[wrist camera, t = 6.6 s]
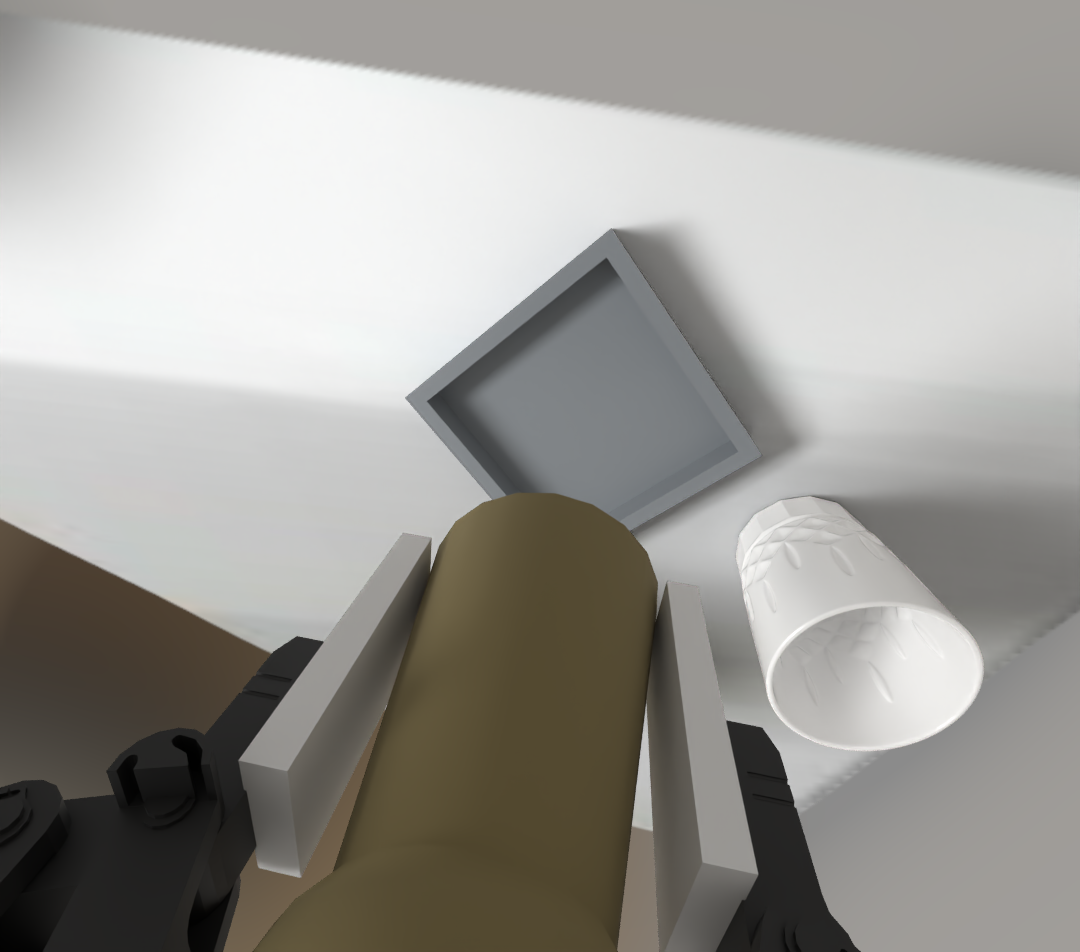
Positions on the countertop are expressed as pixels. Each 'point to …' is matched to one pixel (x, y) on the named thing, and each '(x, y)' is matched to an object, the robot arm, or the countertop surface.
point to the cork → (501, 748)
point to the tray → (587, 397)
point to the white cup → (850, 632)
